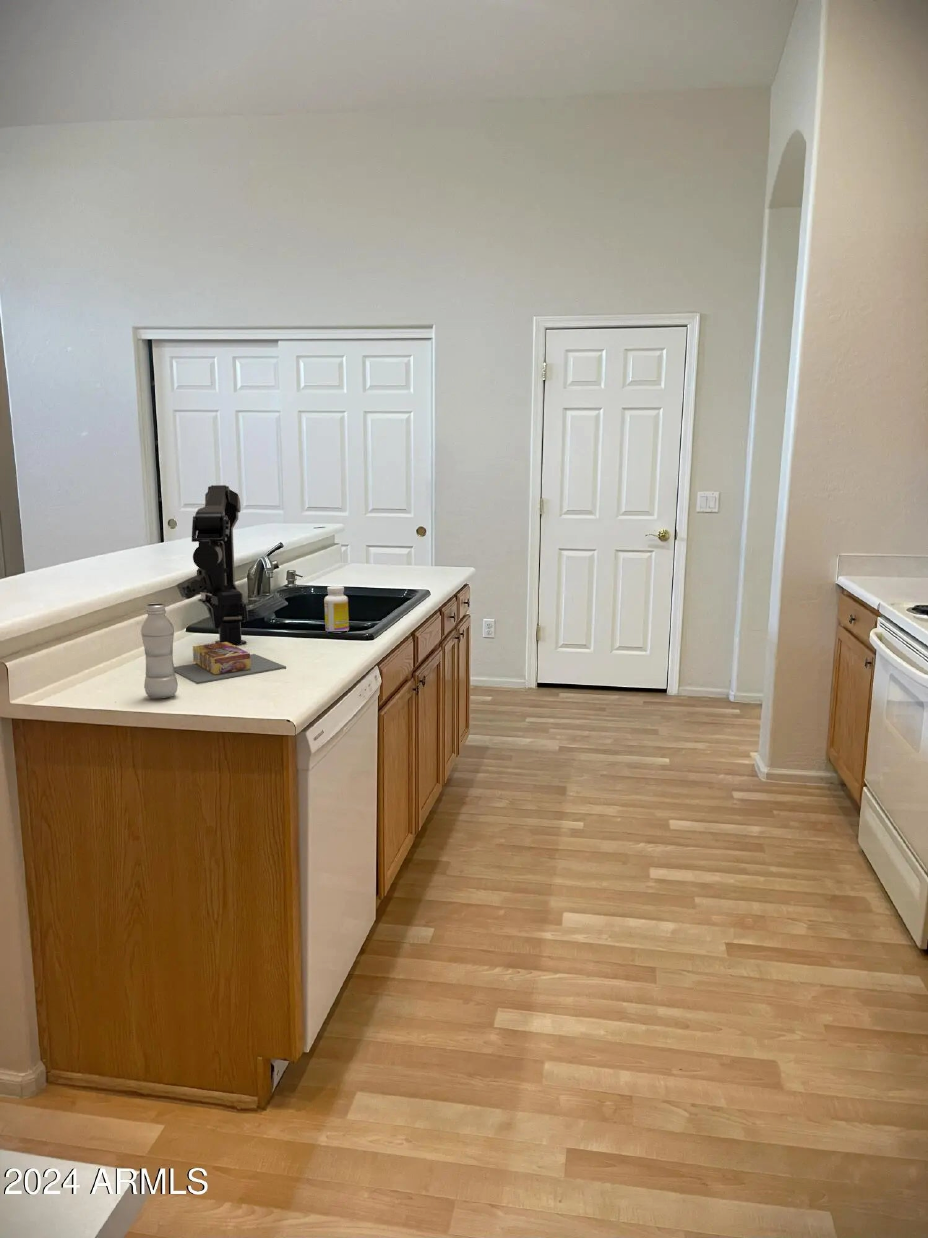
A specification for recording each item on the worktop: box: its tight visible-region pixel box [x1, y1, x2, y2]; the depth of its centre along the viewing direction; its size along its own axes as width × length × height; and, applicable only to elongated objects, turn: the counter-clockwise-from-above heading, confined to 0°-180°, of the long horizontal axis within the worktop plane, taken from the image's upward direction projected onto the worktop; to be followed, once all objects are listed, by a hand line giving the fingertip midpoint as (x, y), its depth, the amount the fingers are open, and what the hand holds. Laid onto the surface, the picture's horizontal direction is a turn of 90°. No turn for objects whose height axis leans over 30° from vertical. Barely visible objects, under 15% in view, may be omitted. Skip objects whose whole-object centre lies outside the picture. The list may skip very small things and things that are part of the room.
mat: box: [174, 653, 287, 685], centre depth 210 cm, size 17×22×1 cm
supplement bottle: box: [323, 585, 350, 632], centre depth 250 cm, size 7×7×13 cm
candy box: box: [192, 642, 251, 675], centre depth 210 cm, size 9×4×15 cm
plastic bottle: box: [140, 602, 179, 699], centre depth 184 cm, size 6×7×20 cm
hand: (216, 628), depth 212 cm, fingers closed
